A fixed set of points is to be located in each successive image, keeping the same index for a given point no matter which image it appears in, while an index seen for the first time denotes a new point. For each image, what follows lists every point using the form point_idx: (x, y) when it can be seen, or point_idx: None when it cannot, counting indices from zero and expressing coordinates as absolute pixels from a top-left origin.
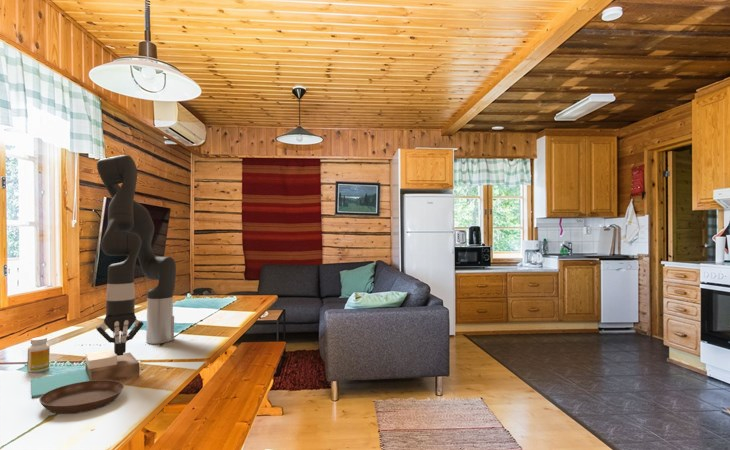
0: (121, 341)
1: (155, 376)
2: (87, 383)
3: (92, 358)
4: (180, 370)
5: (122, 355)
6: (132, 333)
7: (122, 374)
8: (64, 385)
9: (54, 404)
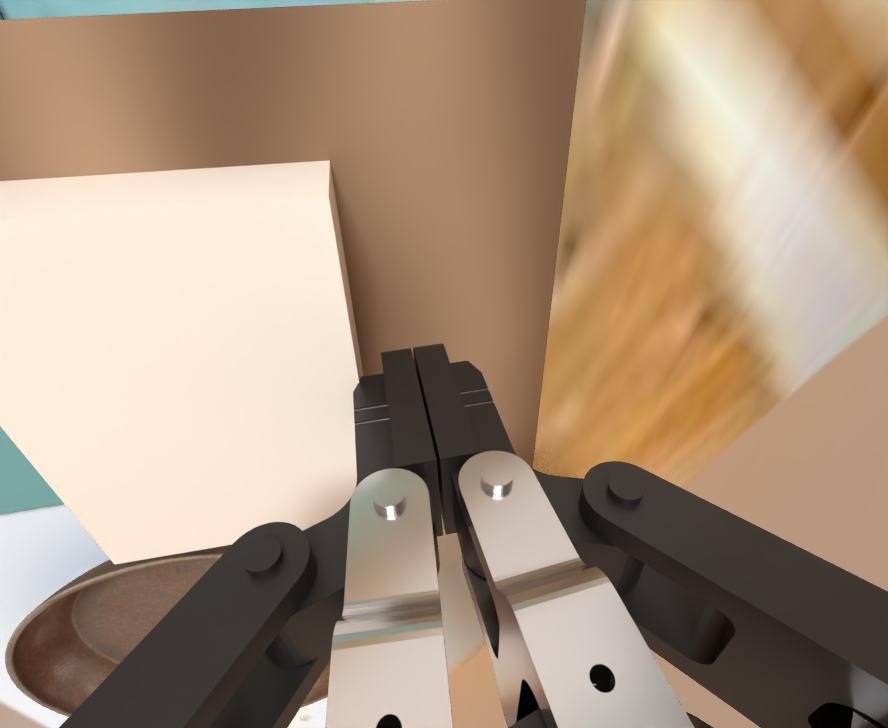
0: (461, 549)
1: (575, 433)
2: (203, 553)
3: (127, 513)
4: (721, 393)
5: (459, 131)
6: (662, 642)
7: None
8: (4, 435)
9: (104, 626)
